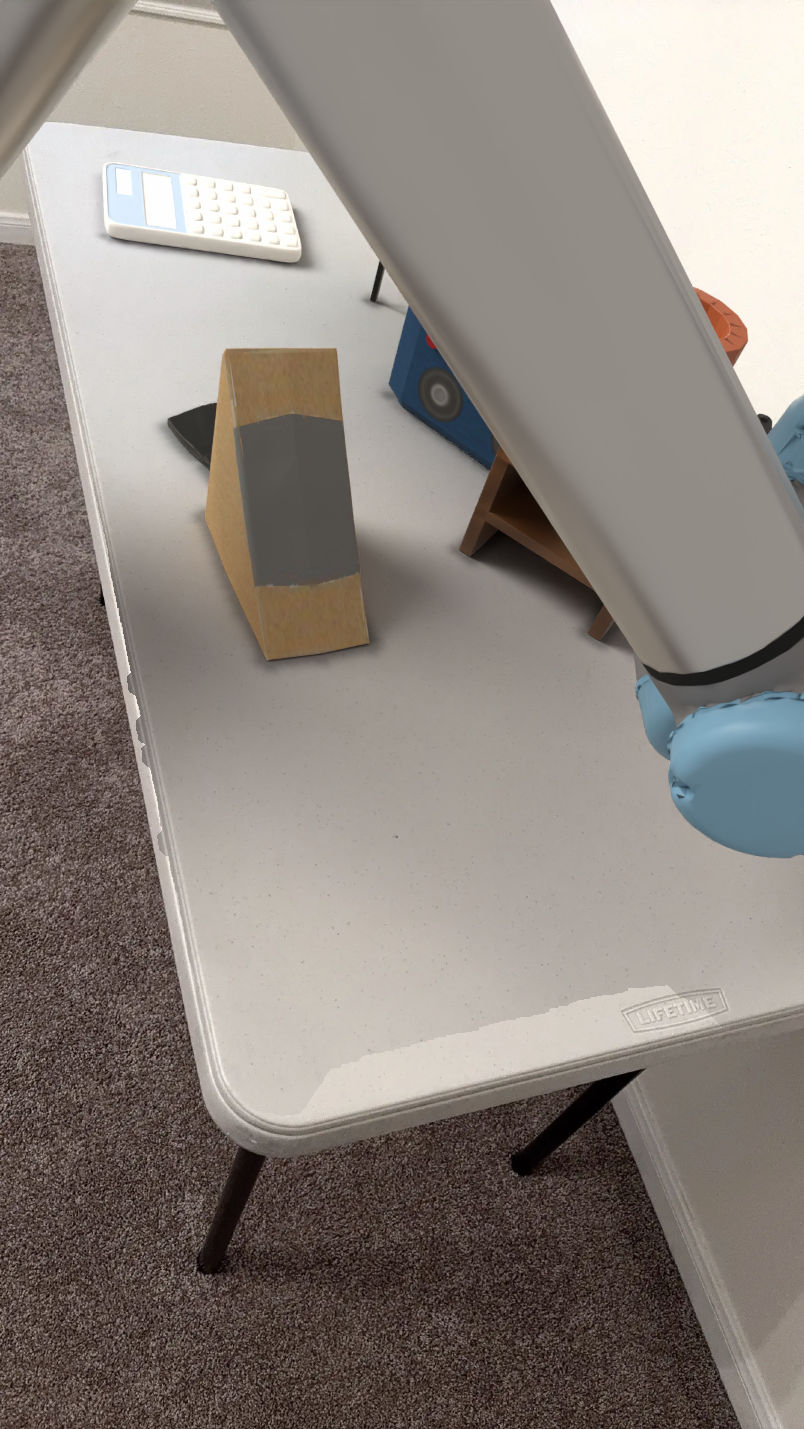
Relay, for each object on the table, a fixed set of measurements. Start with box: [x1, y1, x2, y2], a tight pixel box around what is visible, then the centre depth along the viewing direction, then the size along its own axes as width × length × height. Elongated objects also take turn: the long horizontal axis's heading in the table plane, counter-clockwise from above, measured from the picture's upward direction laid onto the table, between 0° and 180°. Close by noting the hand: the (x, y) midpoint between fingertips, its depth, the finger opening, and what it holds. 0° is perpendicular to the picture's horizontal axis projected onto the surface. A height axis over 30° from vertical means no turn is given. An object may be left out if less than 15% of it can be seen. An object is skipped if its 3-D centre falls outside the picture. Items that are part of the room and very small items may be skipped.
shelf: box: [458, 446, 616, 641], centre depth 81 cm, size 14×14×11 cm
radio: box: [387, 304, 500, 471], centre depth 85 cm, size 21×9×20 cm, turn 50°
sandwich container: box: [204, 347, 370, 661], centre depth 69 cm, size 9×15×15 cm, turn 24°
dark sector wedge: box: [166, 402, 217, 472], centre depth 84 cm, size 8×14×2 cm, turn 129°
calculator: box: [102, 161, 303, 264], centre depth 104 cm, size 13×20×2 cm, turn 102°
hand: (648, 347), depth 75 cm, fingers closed on canister, 9 cm apart
